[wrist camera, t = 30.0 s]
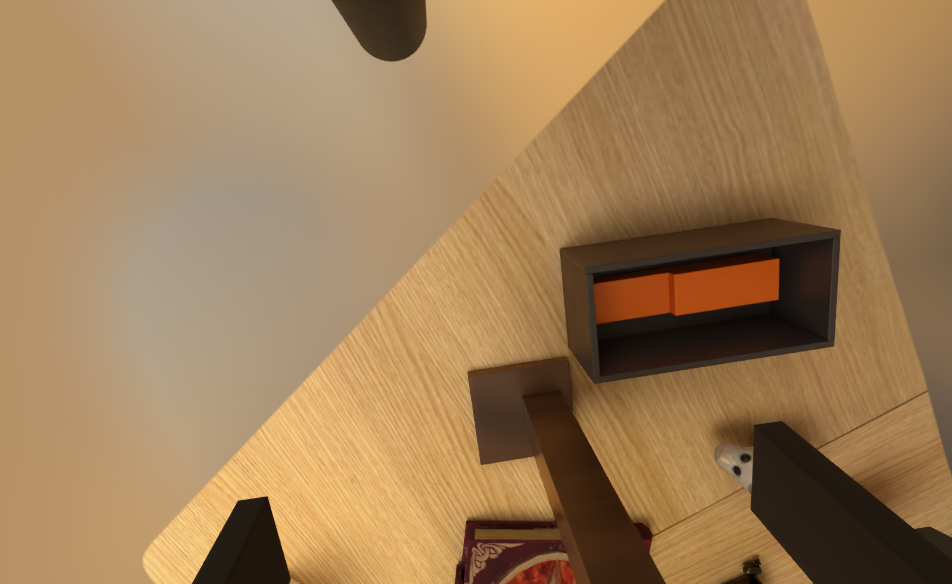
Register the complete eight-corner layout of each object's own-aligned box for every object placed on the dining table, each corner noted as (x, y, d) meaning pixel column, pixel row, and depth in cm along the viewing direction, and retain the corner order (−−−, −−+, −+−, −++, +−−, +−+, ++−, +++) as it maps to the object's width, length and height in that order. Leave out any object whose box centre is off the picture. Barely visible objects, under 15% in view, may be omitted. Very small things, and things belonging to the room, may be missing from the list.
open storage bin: (559, 248, 49) (585, 267, 41) (773, 217, 50) (841, 229, 42) (568, 347, 52) (593, 384, 43) (771, 316, 52) (834, 346, 44)
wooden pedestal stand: (467, 371, 51) (510, 647, 22) (565, 356, 52) (730, 608, 23) (480, 458, 54) (533, 805, 25) (573, 443, 54) (730, 767, 25)
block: (579, 280, 49) (588, 287, 46) (759, 252, 50) (779, 258, 47) (582, 319, 50) (591, 329, 47) (759, 291, 51) (778, 299, 48)
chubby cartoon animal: (716, 402, 55) (766, 445, 46) (806, 438, 57) (869, 486, 48) (683, 458, 56) (726, 509, 48) (772, 491, 58) (828, 546, 50)
